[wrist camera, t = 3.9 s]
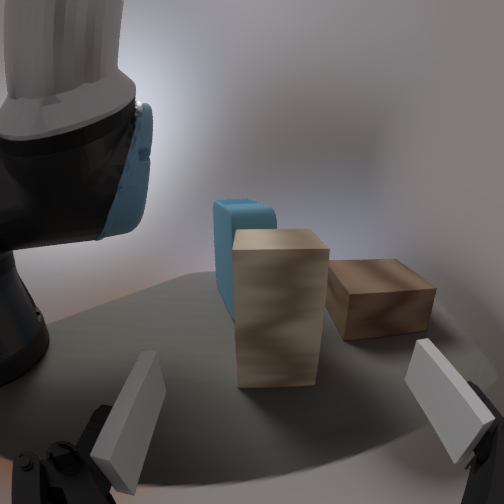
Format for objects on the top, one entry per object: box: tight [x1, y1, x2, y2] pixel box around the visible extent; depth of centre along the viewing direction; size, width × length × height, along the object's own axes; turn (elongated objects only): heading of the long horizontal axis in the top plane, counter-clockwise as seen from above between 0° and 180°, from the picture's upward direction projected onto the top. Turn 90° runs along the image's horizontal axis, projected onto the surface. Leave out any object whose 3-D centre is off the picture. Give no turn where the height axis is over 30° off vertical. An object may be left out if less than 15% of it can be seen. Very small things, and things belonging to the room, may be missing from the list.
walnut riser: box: [325, 259, 437, 341], centre depth 31 cm, size 10×10×5 cm
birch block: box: [232, 229, 329, 388], centre depth 22 cm, size 6×6×11 cm
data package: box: [213, 199, 277, 320], centre depth 34 cm, size 12×4×12 cm, turn 16°
